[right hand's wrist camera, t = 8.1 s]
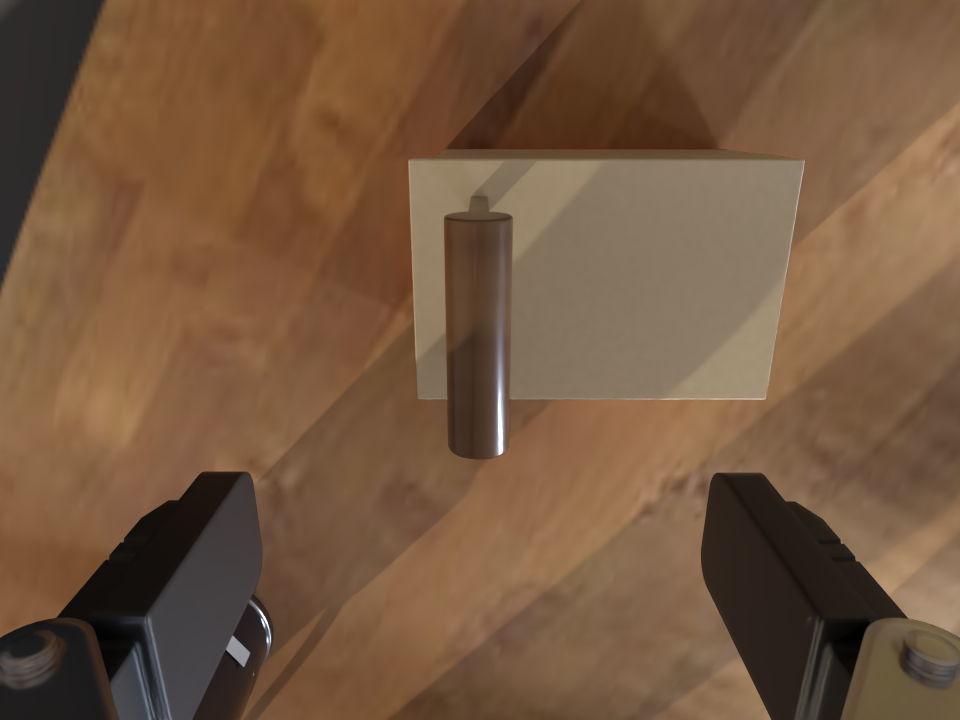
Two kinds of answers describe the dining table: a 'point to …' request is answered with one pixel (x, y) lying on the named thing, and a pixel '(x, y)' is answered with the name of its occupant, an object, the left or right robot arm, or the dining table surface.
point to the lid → (594, 281)
